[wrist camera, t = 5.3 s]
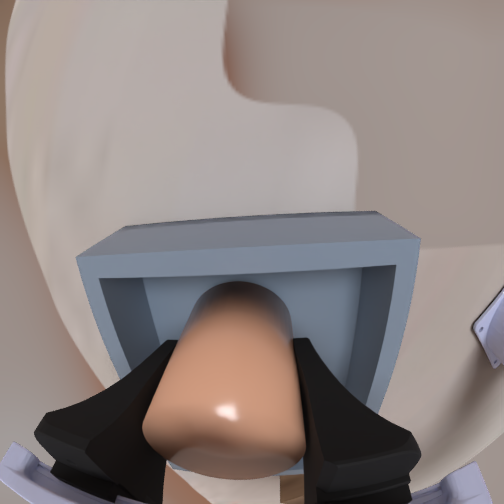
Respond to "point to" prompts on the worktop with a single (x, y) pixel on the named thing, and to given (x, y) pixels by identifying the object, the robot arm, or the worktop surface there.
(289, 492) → the walnut block
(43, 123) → the worktop surface
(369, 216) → the slate tote
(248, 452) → the peach rounded cylinder
